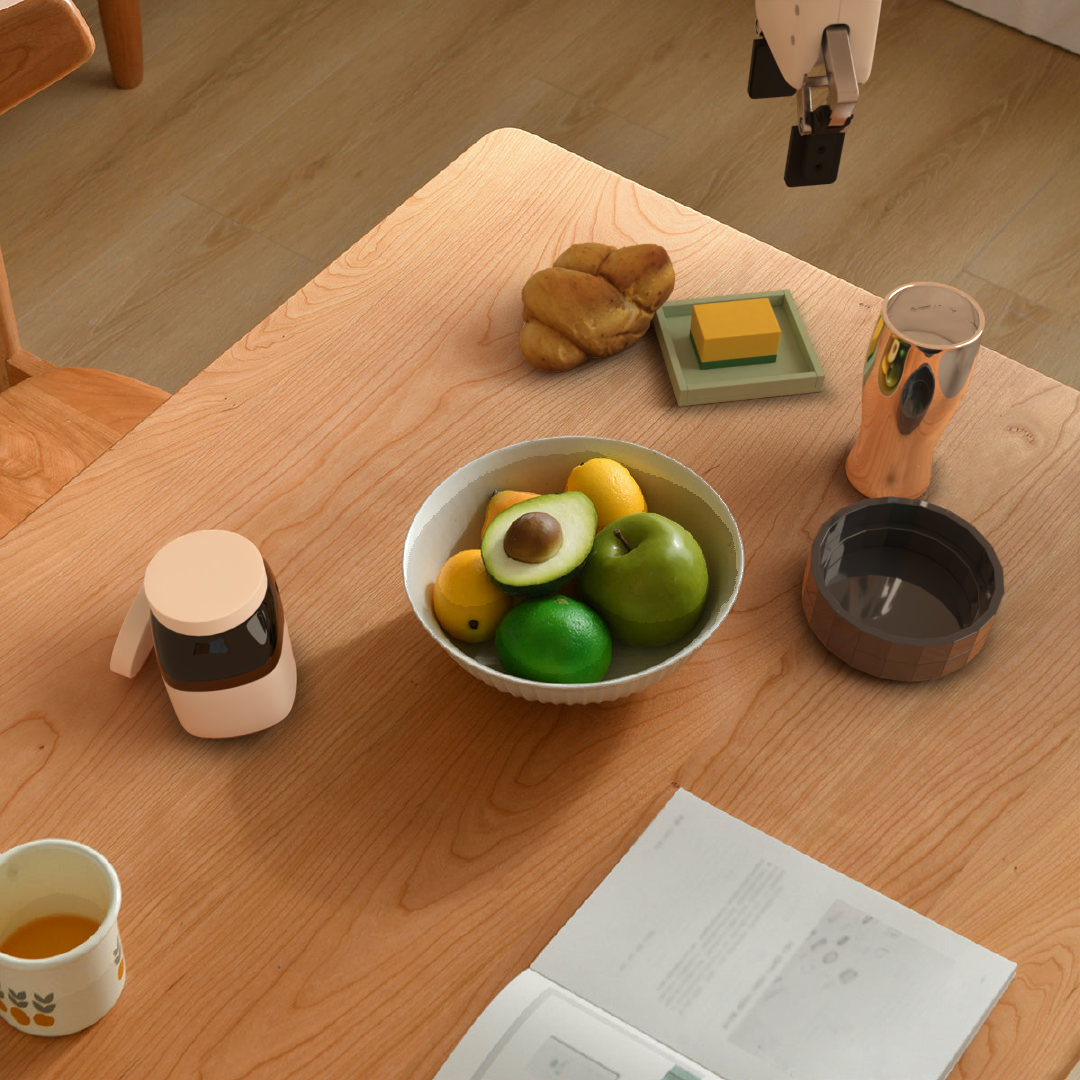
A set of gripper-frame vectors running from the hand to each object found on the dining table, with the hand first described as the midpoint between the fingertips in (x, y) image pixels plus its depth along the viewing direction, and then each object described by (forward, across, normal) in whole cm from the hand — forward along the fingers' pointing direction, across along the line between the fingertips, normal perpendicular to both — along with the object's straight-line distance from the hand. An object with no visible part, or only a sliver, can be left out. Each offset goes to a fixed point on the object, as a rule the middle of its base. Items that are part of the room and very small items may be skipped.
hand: (789, 137), depth 86 cm
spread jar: (+22, -21, +40) cm, 51 cm away
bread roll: (+23, +8, +12) cm, 27 cm away
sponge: (+22, +5, 0) cm, 22 cm away
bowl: (+23, -21, -5) cm, 31 cm away
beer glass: (+23, -9, -8) cm, 26 cm away
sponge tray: (+22, +4, 0) cm, 23 cm away
